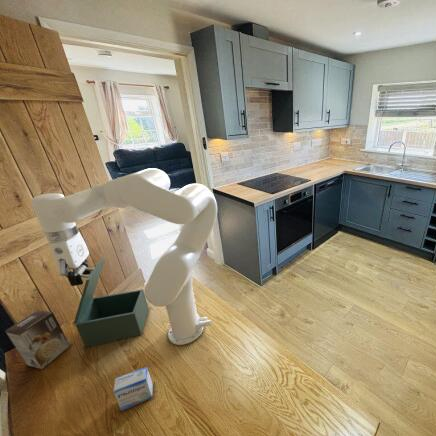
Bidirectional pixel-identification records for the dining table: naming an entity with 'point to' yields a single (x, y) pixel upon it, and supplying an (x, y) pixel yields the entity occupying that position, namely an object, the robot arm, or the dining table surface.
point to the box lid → (88, 287)
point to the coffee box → (38, 338)
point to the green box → (113, 317)
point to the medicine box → (133, 388)
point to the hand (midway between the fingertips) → (81, 279)
